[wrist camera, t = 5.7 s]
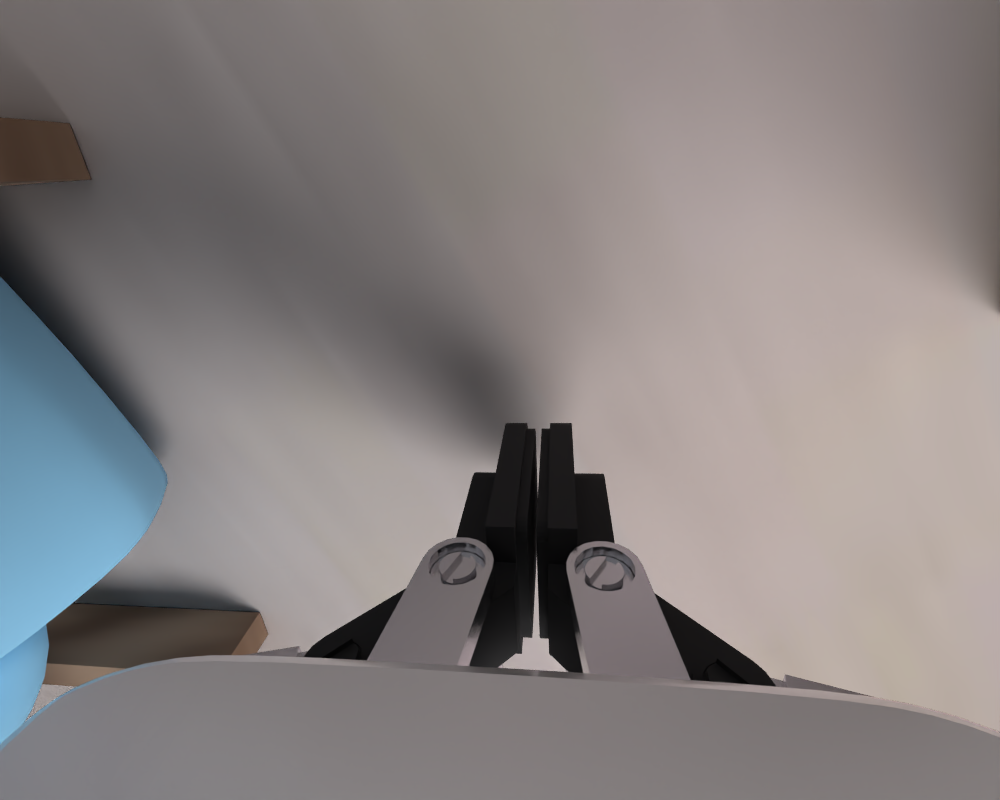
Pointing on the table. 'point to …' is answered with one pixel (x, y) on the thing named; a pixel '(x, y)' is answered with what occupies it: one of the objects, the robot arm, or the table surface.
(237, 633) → the guide track
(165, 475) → the teapot
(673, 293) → the table surface
